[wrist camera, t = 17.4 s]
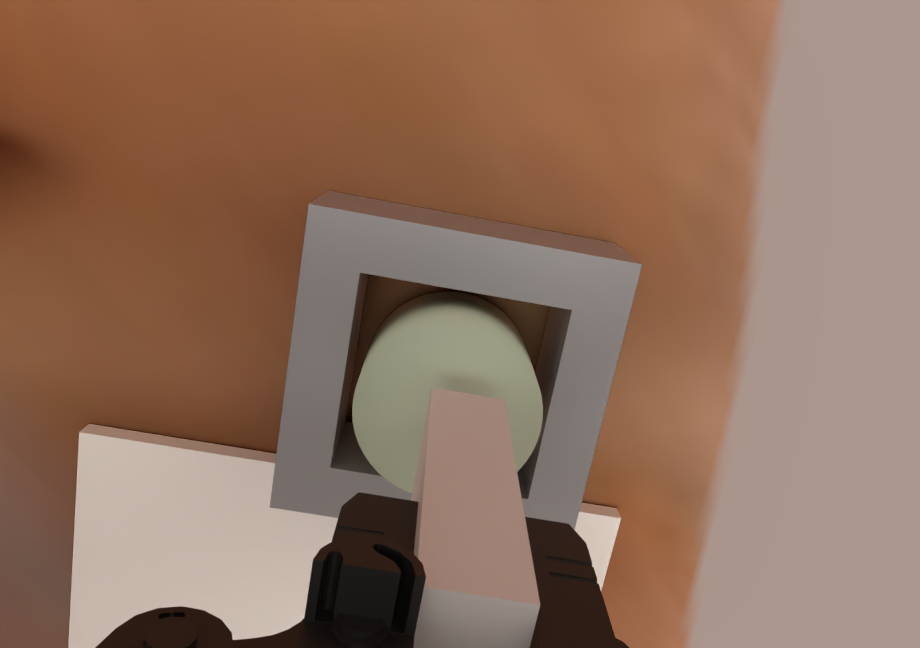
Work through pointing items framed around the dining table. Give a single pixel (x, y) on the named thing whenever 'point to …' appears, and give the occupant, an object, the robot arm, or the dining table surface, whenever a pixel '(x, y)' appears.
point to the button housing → (461, 268)
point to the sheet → (205, 536)
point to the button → (440, 378)
